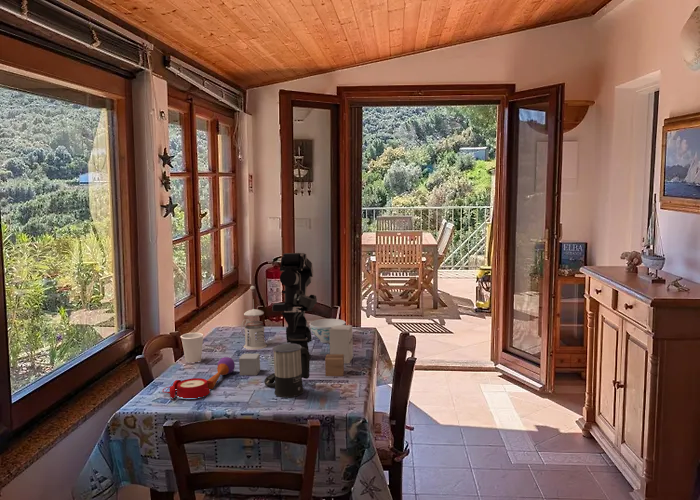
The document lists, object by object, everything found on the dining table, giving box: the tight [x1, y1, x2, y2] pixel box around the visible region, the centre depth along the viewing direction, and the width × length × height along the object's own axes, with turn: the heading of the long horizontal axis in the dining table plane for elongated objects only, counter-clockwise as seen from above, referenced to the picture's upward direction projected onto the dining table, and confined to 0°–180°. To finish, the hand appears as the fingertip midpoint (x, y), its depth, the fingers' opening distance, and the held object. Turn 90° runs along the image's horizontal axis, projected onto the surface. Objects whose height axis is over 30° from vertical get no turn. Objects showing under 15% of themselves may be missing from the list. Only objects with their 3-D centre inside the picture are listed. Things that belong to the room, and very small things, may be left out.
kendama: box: [206, 356, 236, 390], centre depth 208 cm, size 6×6×20 cm
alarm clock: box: [161, 377, 214, 398], centre depth 194 cm, size 10×6×15 cm
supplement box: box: [329, 324, 354, 364], centre depth 226 cm, size 7×7×13 cm
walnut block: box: [324, 353, 345, 377], centre depth 211 cm, size 6×6×6 cm
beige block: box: [238, 353, 261, 376], centre depth 215 cm, size 6×6×6 cm
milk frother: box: [263, 343, 311, 398], centre depth 196 cm, size 14×16×15 cm
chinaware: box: [309, 318, 346, 344], centre depth 255 cm, size 15×15×8 cm
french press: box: [240, 285, 268, 351], centre depth 248 cm, size 10×12×25 cm
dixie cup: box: [180, 332, 204, 363], centre depth 230 cm, size 8×8×10 cm
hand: (293, 331), depth 217 cm, fingers closed
